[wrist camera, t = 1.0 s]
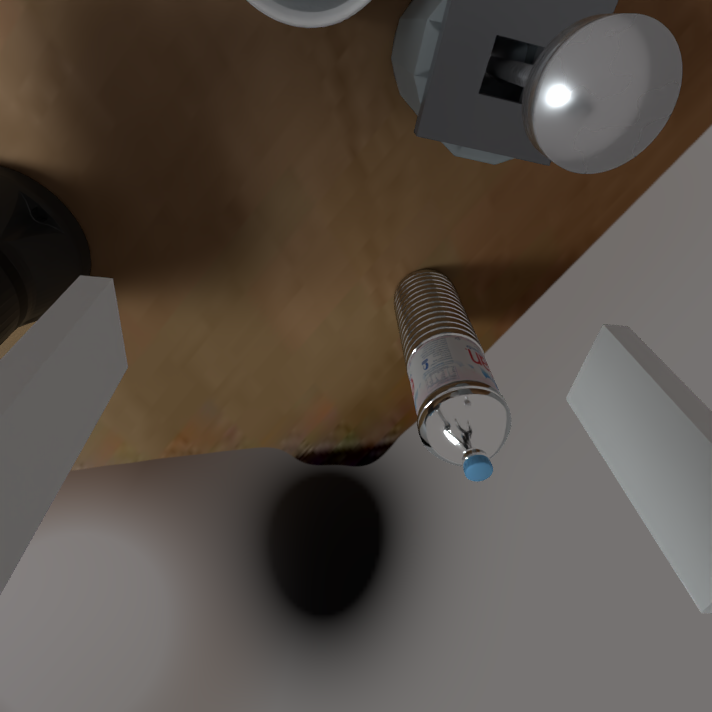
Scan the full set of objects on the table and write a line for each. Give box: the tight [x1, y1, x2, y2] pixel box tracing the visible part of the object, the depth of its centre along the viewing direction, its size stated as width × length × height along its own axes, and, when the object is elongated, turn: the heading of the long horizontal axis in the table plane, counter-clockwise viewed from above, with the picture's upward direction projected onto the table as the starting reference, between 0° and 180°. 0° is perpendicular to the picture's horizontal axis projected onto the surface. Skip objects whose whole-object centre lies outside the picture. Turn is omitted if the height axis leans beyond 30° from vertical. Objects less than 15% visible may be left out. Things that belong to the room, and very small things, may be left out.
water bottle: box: [394, 269, 511, 481], centre depth 42 cm, size 7×7×25 cm
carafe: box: [391, 0, 618, 166], centre depth 32 cm, size 10×12×16 cm
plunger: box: [479, 13, 682, 174], centre depth 23 cm, size 6×6×16 cm
